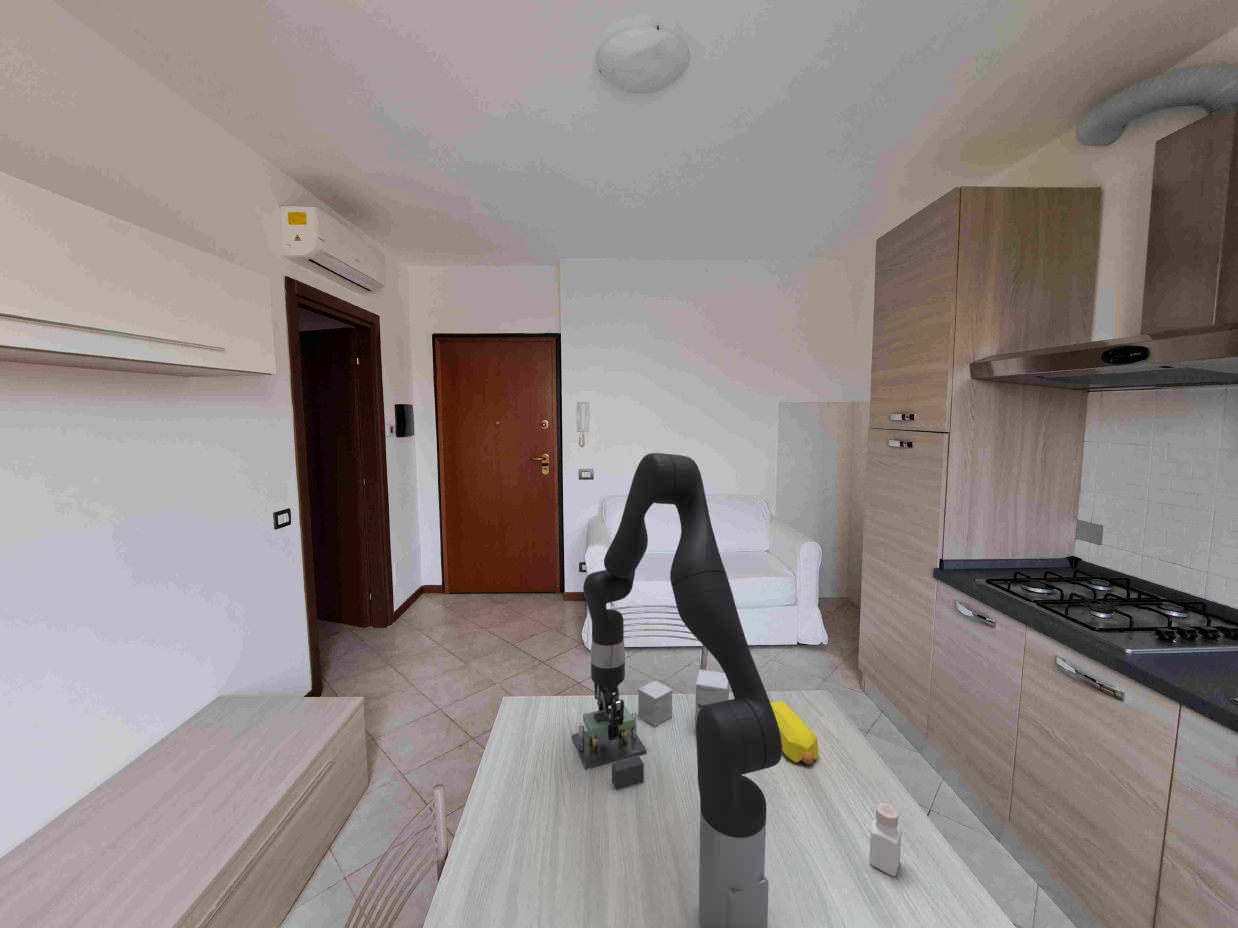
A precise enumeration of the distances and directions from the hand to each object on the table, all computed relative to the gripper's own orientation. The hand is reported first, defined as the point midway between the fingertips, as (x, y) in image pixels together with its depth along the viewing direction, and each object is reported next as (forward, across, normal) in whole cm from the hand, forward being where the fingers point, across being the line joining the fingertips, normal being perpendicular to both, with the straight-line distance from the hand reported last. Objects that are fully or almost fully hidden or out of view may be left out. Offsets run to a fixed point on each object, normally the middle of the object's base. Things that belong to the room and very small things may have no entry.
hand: (608, 729), depth 111 cm
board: (-2, 0, 0) cm, 2 cm away
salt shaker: (+4, -44, -33) cm, 55 cm away
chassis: (+4, 0, 0) cm, 4 cm away
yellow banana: (+4, -13, -39) cm, 41 cm away
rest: (+4, -12, 0) cm, 13 cm away
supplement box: (+4, -3, -25) cm, 25 cm away
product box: (+4, +6, -14) cm, 16 cm away
